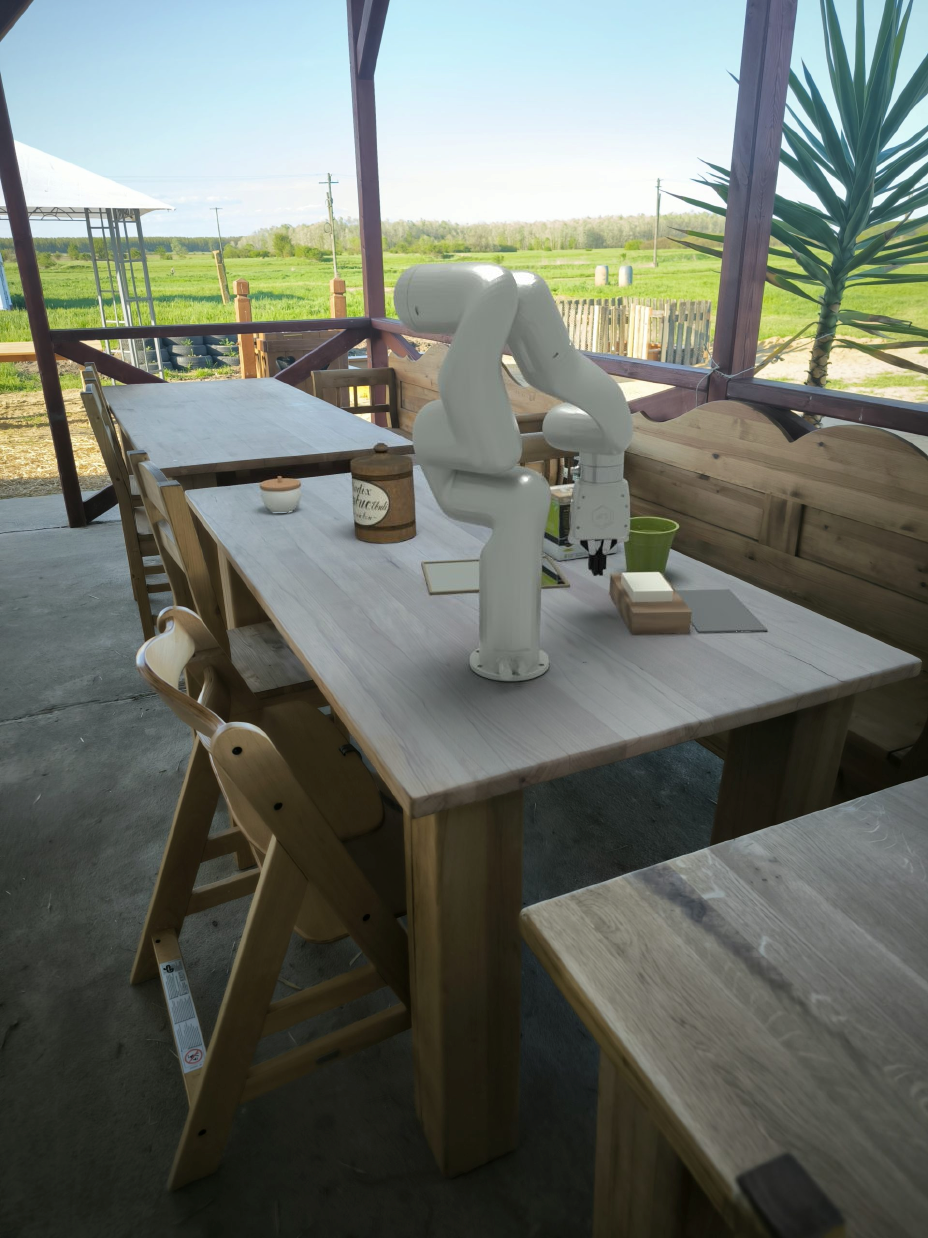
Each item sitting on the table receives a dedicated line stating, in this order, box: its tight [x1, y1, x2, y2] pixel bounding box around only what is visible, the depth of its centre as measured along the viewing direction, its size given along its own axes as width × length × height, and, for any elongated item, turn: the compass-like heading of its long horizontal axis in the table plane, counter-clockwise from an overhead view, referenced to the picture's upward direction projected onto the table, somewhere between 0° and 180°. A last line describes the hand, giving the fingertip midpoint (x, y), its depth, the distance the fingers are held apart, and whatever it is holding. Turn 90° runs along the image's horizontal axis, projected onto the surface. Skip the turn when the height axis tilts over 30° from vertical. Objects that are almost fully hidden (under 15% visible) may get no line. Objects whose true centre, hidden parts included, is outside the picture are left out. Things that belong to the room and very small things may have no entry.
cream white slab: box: [621, 572, 673, 602], centre depth 147 cm, size 10×7×2 cm
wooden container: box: [349, 442, 417, 544], centre depth 193 cm, size 15×15×22 cm
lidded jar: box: [259, 475, 302, 513], centre depth 217 cm, size 11×11×9 cm
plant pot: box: [623, 516, 680, 576], centre depth 165 cm, size 12×12×11 cm
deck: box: [608, 573, 692, 635], centre depth 148 cm, size 20×10×4 cm, turn 2°
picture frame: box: [420, 554, 571, 596], centre depth 169 cm, size 19×1×28 cm
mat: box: [675, 588, 768, 634], centre depth 149 cm, size 20×12×1 cm, turn 2°
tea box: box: [543, 483, 619, 562], centre depth 180 cm, size 15×10×15 cm
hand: (596, 573), depth 147 cm, fingers closed
